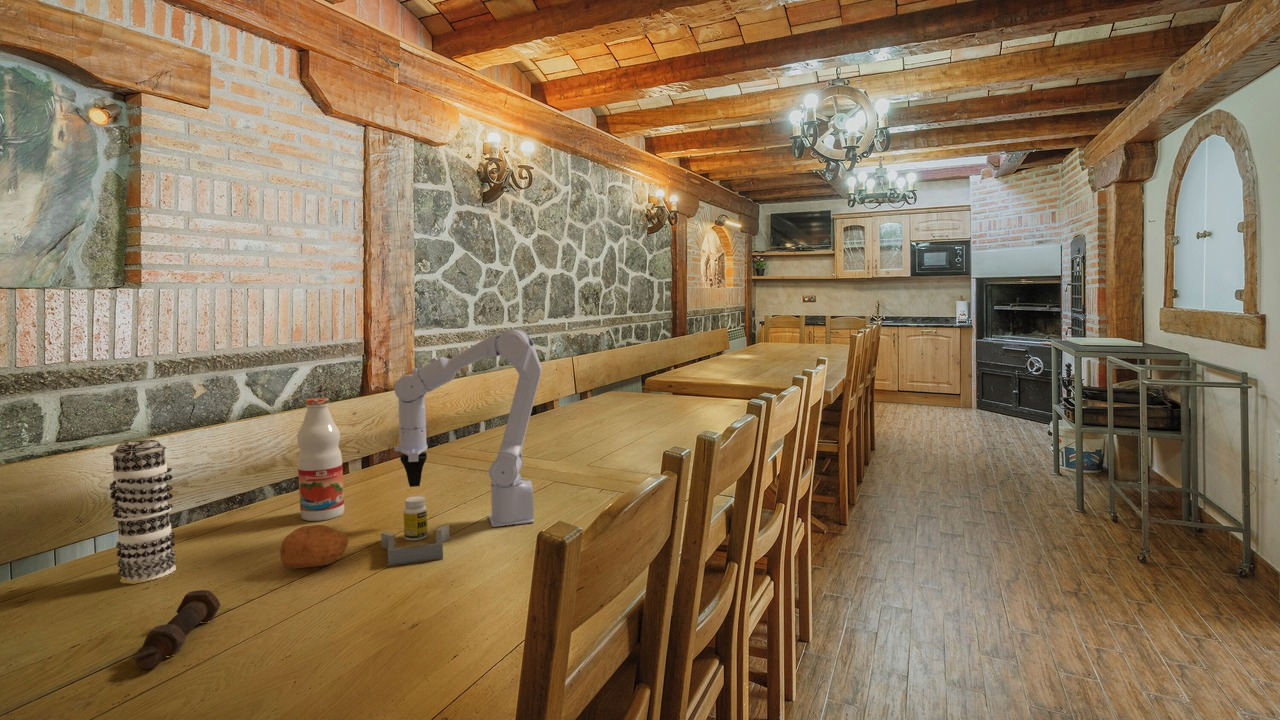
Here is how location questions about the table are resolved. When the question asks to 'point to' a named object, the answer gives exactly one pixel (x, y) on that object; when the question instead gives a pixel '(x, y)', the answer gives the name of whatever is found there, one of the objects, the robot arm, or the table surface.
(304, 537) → the potato
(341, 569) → the table surface
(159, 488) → the decorative candle
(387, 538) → the steel bracket
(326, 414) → the fruit juice
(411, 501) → the supplement bottle
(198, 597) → the bolt
